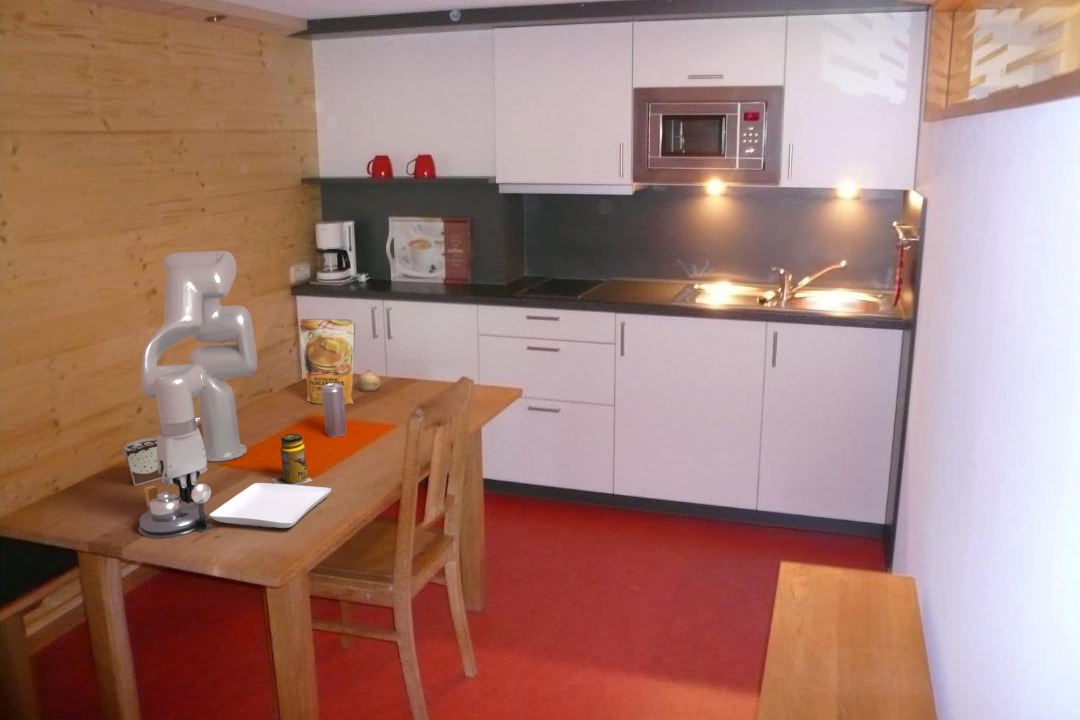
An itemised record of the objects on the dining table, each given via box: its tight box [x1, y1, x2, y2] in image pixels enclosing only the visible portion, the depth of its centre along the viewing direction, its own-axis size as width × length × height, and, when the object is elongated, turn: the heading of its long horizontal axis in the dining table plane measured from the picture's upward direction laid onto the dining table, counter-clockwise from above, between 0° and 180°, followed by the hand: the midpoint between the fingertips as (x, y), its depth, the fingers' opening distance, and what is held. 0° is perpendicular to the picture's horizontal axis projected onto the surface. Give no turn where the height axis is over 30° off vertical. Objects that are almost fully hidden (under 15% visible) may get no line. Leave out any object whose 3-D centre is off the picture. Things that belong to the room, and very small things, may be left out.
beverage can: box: [322, 383, 347, 438], centre depth 270 cm, size 6×6×15 cm
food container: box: [122, 436, 162, 487], centre depth 240 cm, size 12×6×10 cm, turn 134°
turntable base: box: [138, 512, 209, 539], centre depth 211 cm, size 15×15×1 cm
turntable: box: [139, 484, 206, 535], centre depth 212 cm, size 18×14×6 cm
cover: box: [150, 490, 182, 522], centre depth 209 cm, size 6×6×6 cm
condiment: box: [271, 432, 313, 485], centre depth 235 cm, size 7×8×12 cm
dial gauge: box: [191, 483, 214, 533], centre depth 207 cm, size 3×4×11 cm
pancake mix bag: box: [297, 318, 356, 406], centre depth 301 cm, size 7×19×28 cm, turn 77°
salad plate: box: [208, 482, 332, 529], centre depth 216 cm, size 21×21×3 cm
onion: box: [356, 369, 381, 393], centre depth 317 cm, size 8×8×7 cm
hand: (188, 500), depth 214 cm, fingers closed
